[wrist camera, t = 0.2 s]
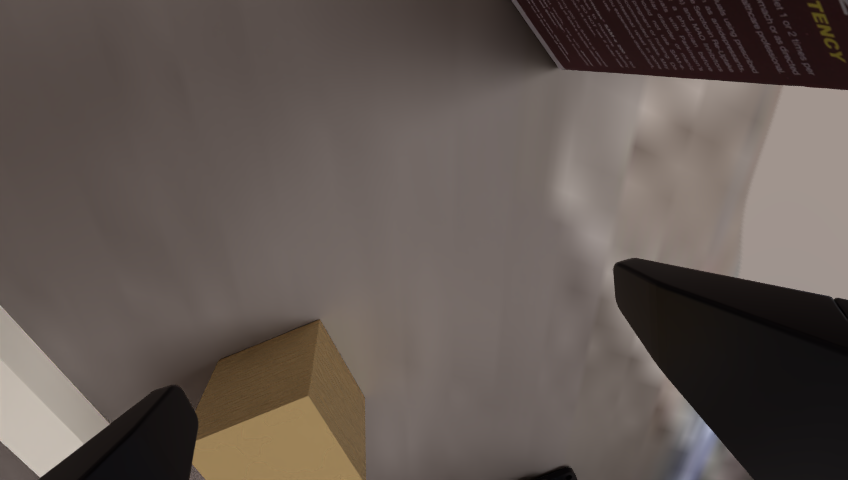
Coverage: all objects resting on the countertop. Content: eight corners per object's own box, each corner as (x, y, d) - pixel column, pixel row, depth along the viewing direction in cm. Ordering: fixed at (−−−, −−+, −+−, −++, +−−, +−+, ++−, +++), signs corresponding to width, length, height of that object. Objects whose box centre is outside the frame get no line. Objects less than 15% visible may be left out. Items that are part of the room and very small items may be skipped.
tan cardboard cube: (364, 397, 27) (365, 485, 22) (272, 434, 27) (250, 531, 22) (319, 319, 25) (308, 395, 19) (218, 360, 25) (178, 447, 19)
